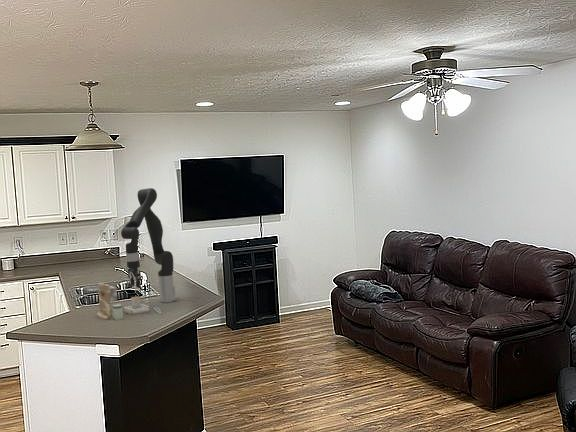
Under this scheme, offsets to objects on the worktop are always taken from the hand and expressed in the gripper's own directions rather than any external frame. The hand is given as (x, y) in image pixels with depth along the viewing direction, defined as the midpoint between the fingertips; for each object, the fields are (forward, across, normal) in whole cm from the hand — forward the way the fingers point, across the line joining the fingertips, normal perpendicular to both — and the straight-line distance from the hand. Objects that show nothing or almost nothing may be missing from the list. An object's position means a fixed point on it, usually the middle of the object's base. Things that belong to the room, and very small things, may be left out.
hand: (135, 286), depth 370 cm
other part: (+15, -9, +16) cm, 24 cm away
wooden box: (+15, +3, +17) cm, 23 cm away
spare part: (+15, 0, +1) cm, 15 cm away
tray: (+16, 0, +1) cm, 16 cm away
